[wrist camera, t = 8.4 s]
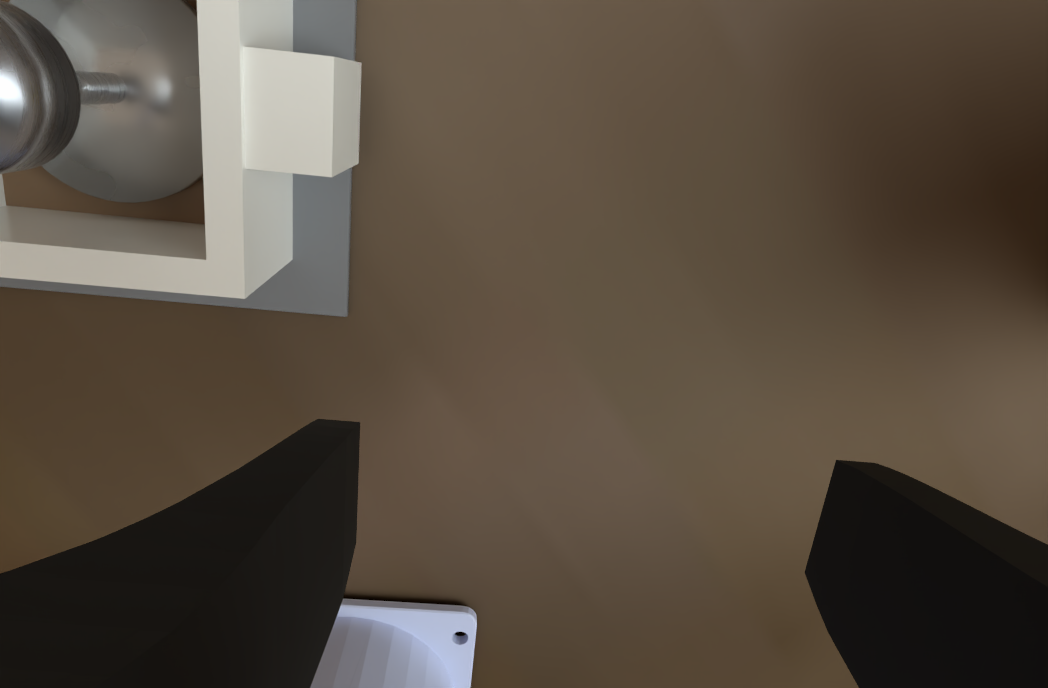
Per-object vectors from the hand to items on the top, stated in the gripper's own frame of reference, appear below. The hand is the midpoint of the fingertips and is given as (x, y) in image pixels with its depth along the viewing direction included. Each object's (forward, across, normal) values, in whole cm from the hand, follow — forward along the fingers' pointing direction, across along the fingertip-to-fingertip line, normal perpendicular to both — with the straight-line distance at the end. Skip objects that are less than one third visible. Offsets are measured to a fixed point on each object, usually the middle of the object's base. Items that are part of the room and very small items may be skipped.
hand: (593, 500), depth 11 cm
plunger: (+10, +11, -5) cm, 15 cm away
